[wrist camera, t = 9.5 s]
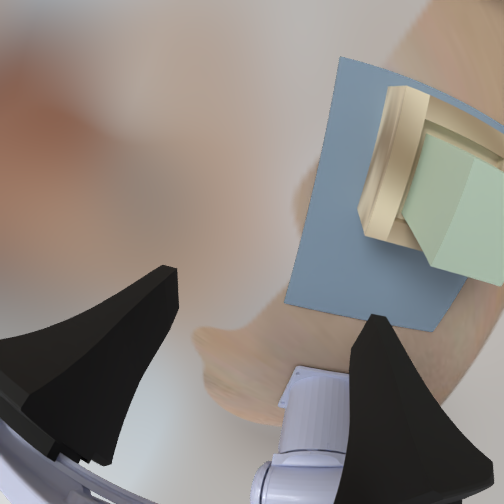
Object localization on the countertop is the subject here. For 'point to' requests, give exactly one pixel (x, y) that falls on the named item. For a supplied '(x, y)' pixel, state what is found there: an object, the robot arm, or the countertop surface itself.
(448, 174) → the green brick
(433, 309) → the mat
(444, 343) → the countertop surface
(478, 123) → the base brick
